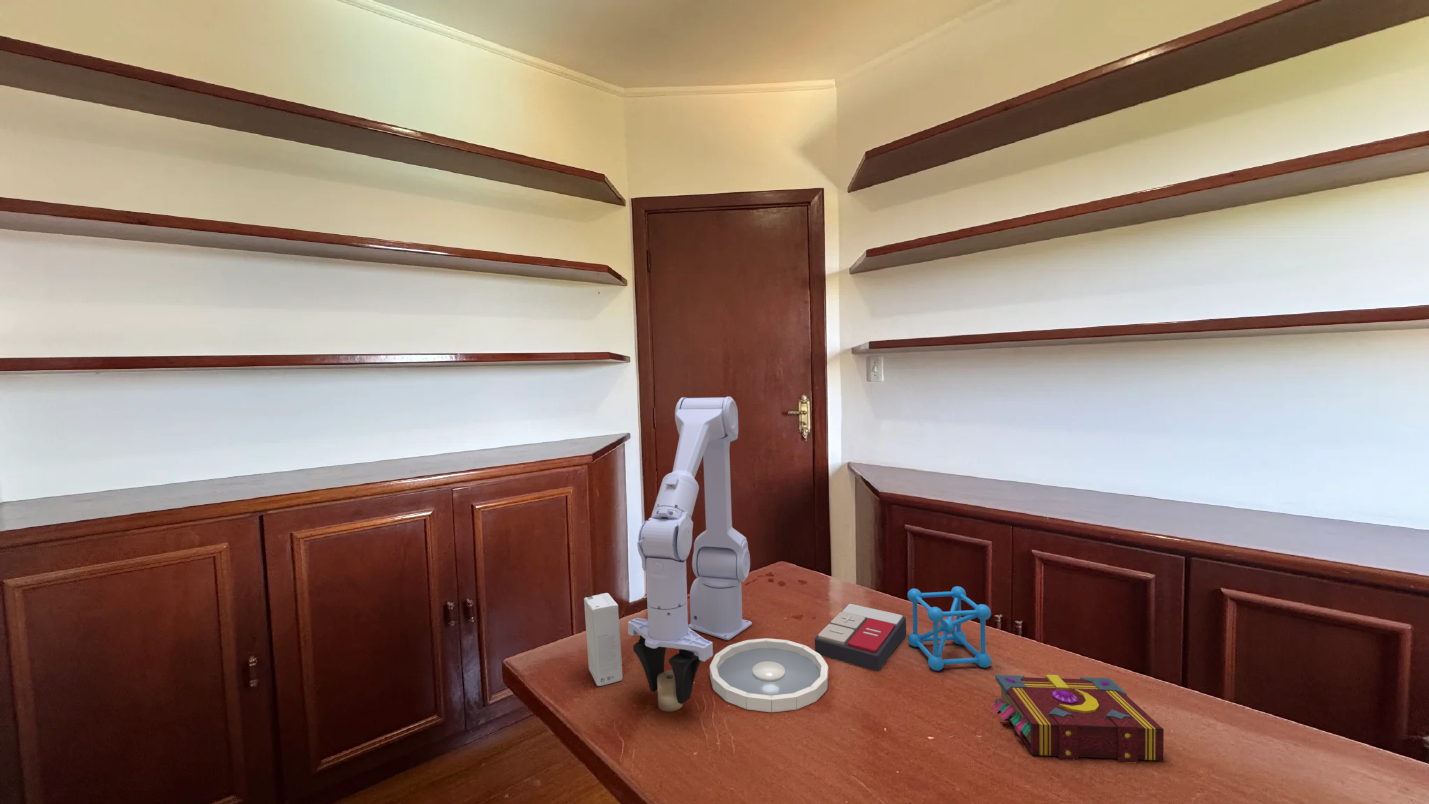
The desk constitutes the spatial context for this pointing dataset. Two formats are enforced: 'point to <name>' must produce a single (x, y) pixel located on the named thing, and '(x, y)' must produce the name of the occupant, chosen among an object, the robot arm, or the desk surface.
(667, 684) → the wooden bead
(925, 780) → the desk surface
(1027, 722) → the decorative book
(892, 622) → the calculator
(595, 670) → the skincare box
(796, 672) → the ring tray
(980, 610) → the molecular structure
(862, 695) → the desk surface
